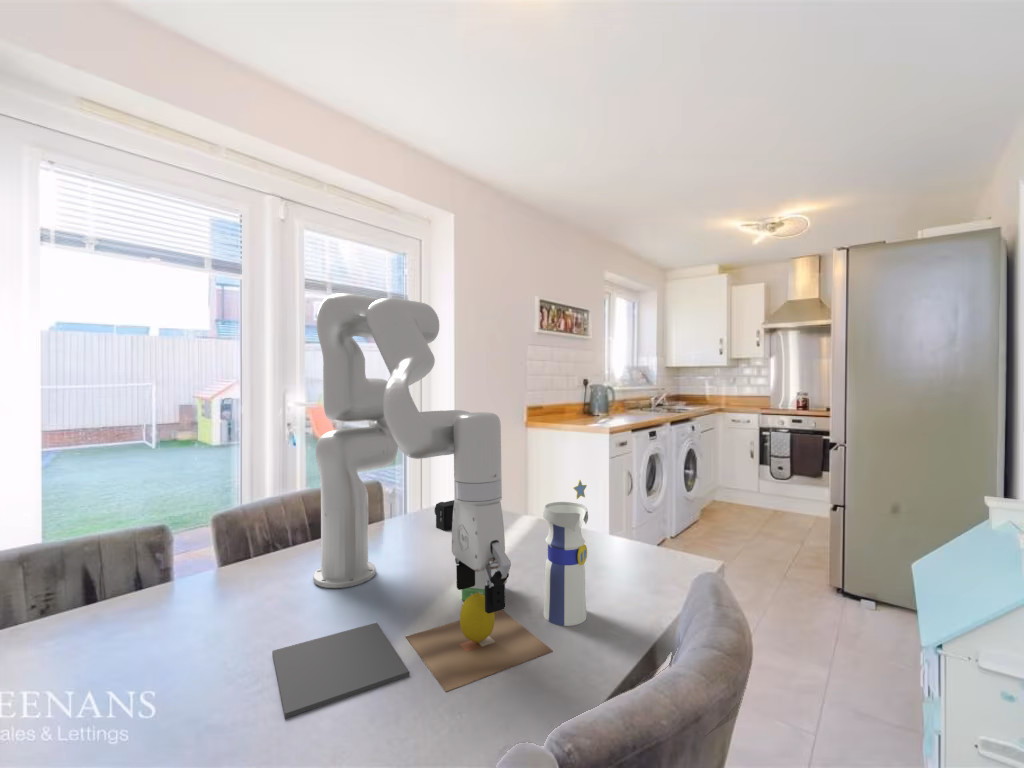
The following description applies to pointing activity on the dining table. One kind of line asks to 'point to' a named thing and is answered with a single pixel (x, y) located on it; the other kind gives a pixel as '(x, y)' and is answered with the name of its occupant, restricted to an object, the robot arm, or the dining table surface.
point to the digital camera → (444, 515)
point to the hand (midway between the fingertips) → (479, 598)
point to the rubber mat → (335, 668)
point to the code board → (475, 651)
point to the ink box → (477, 584)
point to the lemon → (476, 618)
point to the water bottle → (565, 562)
